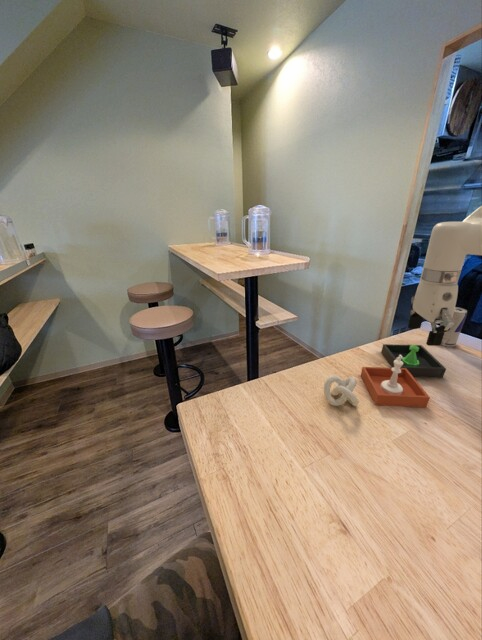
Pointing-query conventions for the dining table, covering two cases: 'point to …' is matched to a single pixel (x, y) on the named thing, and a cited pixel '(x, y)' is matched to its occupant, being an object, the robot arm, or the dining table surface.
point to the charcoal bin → (426, 360)
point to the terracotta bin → (411, 388)
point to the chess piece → (393, 379)
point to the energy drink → (454, 328)
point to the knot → (340, 390)
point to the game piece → (411, 357)
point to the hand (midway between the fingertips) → (422, 336)
